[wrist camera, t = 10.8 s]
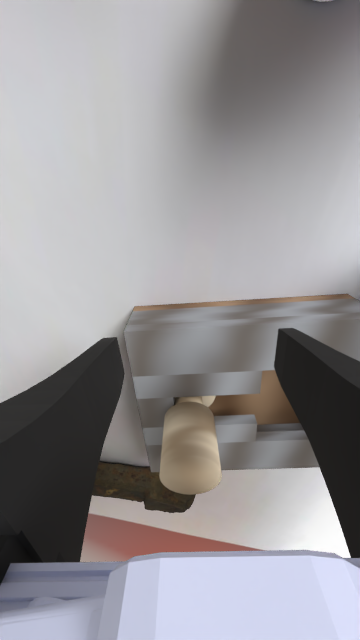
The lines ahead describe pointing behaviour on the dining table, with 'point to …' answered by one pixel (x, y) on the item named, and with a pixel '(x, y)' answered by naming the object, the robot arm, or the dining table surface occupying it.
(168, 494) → the hand tool
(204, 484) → the keyhole peg
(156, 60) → the dining table surface
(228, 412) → the keyhole plate
